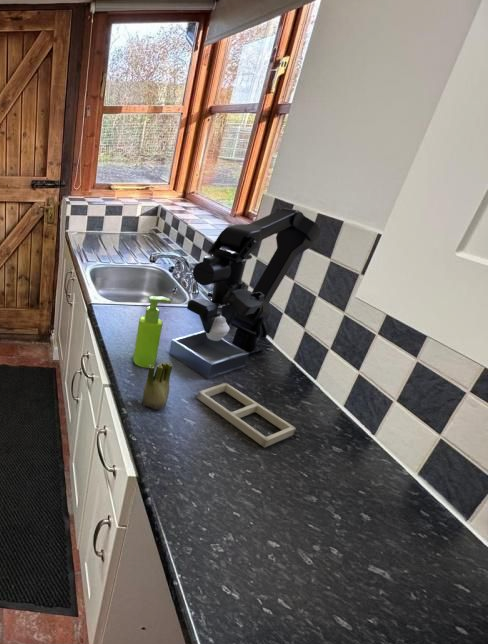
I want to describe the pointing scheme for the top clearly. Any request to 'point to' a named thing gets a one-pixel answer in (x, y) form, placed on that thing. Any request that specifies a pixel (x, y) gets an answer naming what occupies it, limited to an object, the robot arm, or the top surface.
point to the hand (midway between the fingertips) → (215, 330)
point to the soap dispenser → (149, 334)
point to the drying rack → (249, 409)
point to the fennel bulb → (157, 386)
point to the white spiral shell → (218, 329)
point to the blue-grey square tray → (208, 354)
